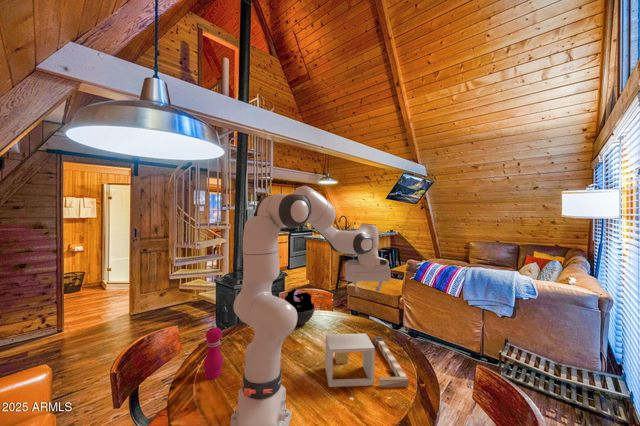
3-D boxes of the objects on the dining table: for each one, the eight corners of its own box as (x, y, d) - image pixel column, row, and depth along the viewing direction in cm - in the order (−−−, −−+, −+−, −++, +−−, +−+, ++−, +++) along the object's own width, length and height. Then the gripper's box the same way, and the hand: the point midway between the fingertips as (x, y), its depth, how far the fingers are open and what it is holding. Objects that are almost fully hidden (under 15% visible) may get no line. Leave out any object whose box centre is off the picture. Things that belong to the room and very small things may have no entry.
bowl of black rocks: (313, 331, 147) (314, 297, 147) (277, 330, 147) (278, 296, 147) (314, 317, 167) (315, 287, 167) (283, 316, 167) (283, 286, 167)
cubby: (374, 385, 101) (374, 347, 102) (328, 387, 100) (329, 349, 100) (365, 366, 114) (366, 333, 114) (325, 367, 112) (325, 334, 112)
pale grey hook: (411, 386, 101) (411, 378, 101) (380, 387, 100) (380, 379, 100) (382, 342, 136) (382, 336, 136) (358, 342, 135) (359, 336, 135)
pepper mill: (215, 381, 102) (217, 329, 102) (199, 378, 103) (200, 327, 103) (226, 370, 109) (227, 321, 109) (210, 368, 110) (211, 319, 110)
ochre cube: (348, 363, 116) (348, 352, 116) (336, 363, 116) (337, 352, 116) (345, 357, 121) (345, 346, 121) (334, 357, 121) (334, 346, 121)
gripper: (346, 261, 114) (345, 293, 114) (392, 261, 116) (391, 293, 116) (343, 258, 120) (343, 289, 120) (387, 259, 122) (386, 289, 122)
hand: (367, 291), depth 118 cm, fingers open, 8 cm apart
